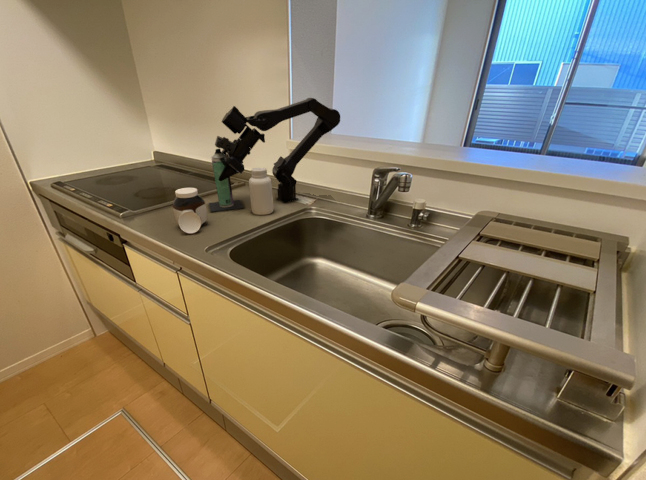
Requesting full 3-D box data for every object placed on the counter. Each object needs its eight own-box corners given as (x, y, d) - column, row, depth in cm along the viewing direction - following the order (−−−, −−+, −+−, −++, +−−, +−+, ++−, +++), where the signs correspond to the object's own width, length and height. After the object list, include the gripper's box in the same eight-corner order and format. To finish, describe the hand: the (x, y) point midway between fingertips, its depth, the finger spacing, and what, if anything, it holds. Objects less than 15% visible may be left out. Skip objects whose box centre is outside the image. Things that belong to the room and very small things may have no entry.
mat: (239, 200, 136) (239, 199, 136) (243, 208, 128) (243, 207, 128) (209, 204, 133) (209, 203, 133) (211, 212, 125) (211, 211, 125)
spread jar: (200, 218, 120) (193, 185, 113) (218, 226, 113) (212, 191, 107) (168, 228, 113) (159, 193, 106) (186, 237, 106) (178, 200, 100)
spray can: (236, 203, 131) (228, 148, 120) (227, 208, 127) (218, 151, 116) (225, 202, 133) (216, 147, 122) (216, 206, 129) (206, 150, 118)
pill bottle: (254, 207, 129) (250, 166, 120) (275, 208, 128) (273, 166, 119) (249, 215, 122) (244, 171, 114) (271, 215, 121) (268, 172, 113)
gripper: (223, 123, 124) (198, 158, 127) (229, 130, 109) (201, 169, 112) (247, 145, 130) (222, 177, 133) (256, 154, 115) (228, 191, 119)
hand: (218, 178), depth 124 cm, fingers closed on spray can, 5 cm apart
